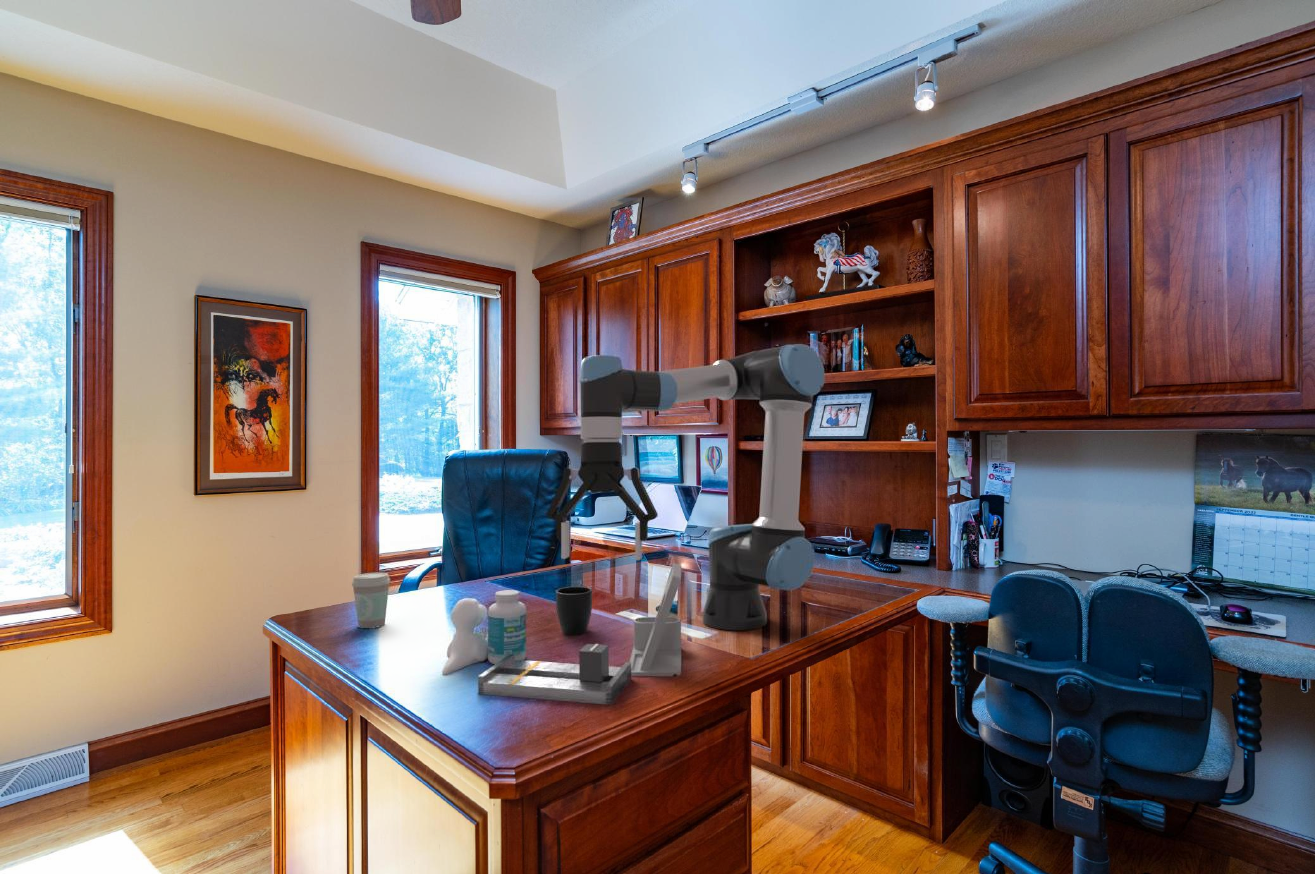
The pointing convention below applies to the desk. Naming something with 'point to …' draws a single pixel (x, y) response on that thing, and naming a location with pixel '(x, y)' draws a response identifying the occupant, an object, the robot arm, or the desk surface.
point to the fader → (594, 662)
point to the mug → (574, 609)
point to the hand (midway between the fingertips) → (601, 558)
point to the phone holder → (659, 637)
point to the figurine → (467, 636)
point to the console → (551, 681)
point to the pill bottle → (506, 627)
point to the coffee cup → (371, 598)
